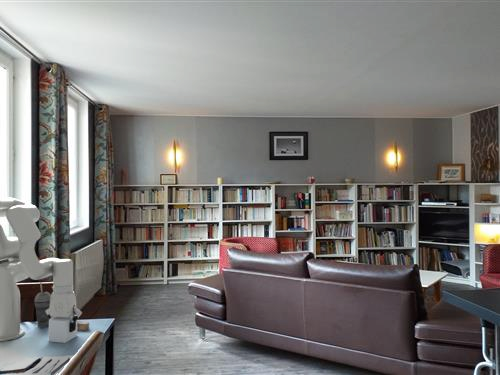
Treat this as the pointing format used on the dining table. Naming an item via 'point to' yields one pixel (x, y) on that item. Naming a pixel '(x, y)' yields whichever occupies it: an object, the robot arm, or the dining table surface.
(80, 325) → the rail
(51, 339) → the white squarish block
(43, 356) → the dining table surface
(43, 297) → the beverage cup
